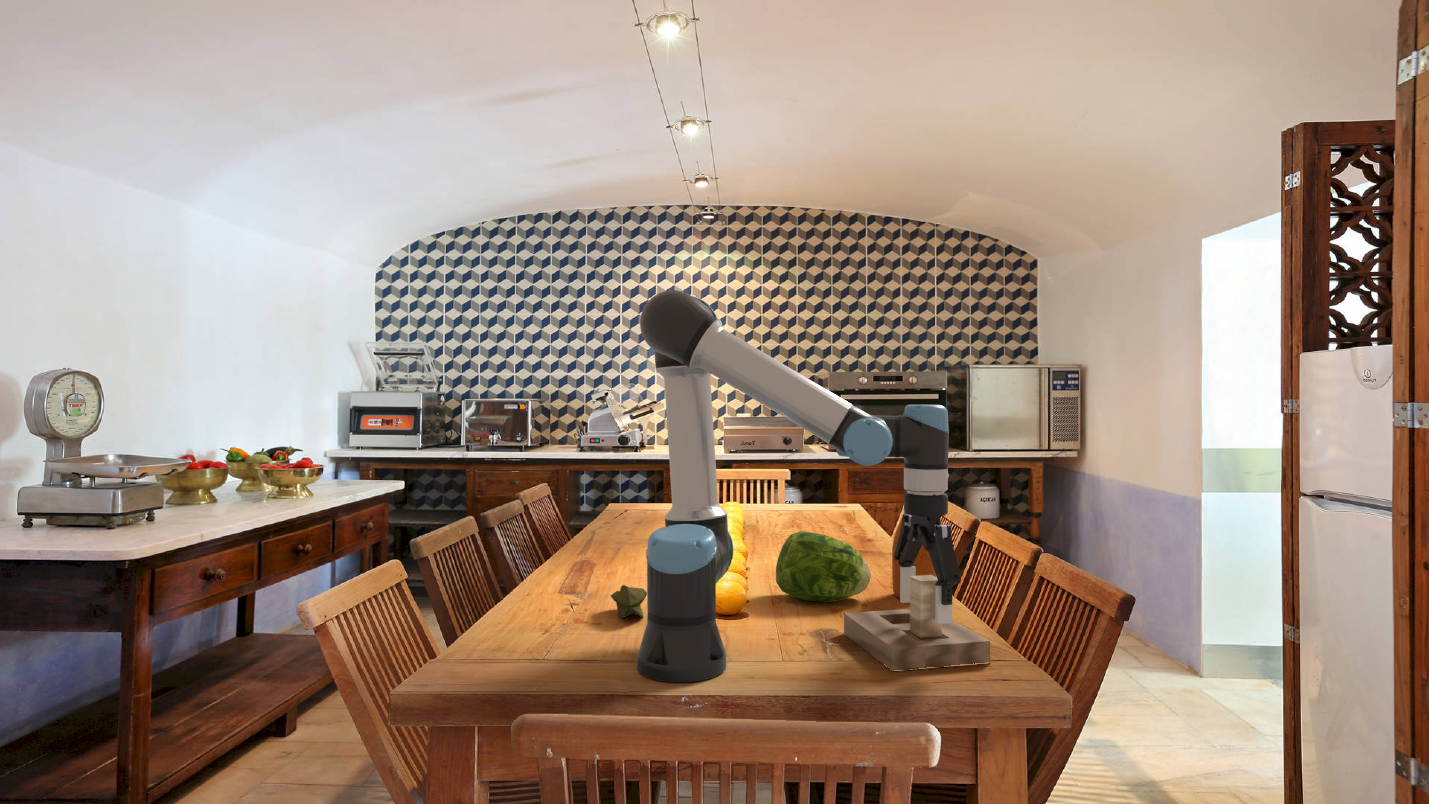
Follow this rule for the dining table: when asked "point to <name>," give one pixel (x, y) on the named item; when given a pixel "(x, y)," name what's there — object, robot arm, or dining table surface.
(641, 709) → the dining table surface
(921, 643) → the board
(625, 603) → the fruit
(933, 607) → the peg
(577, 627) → the dining table surface
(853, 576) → the lettuce
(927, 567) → the wine bottle
